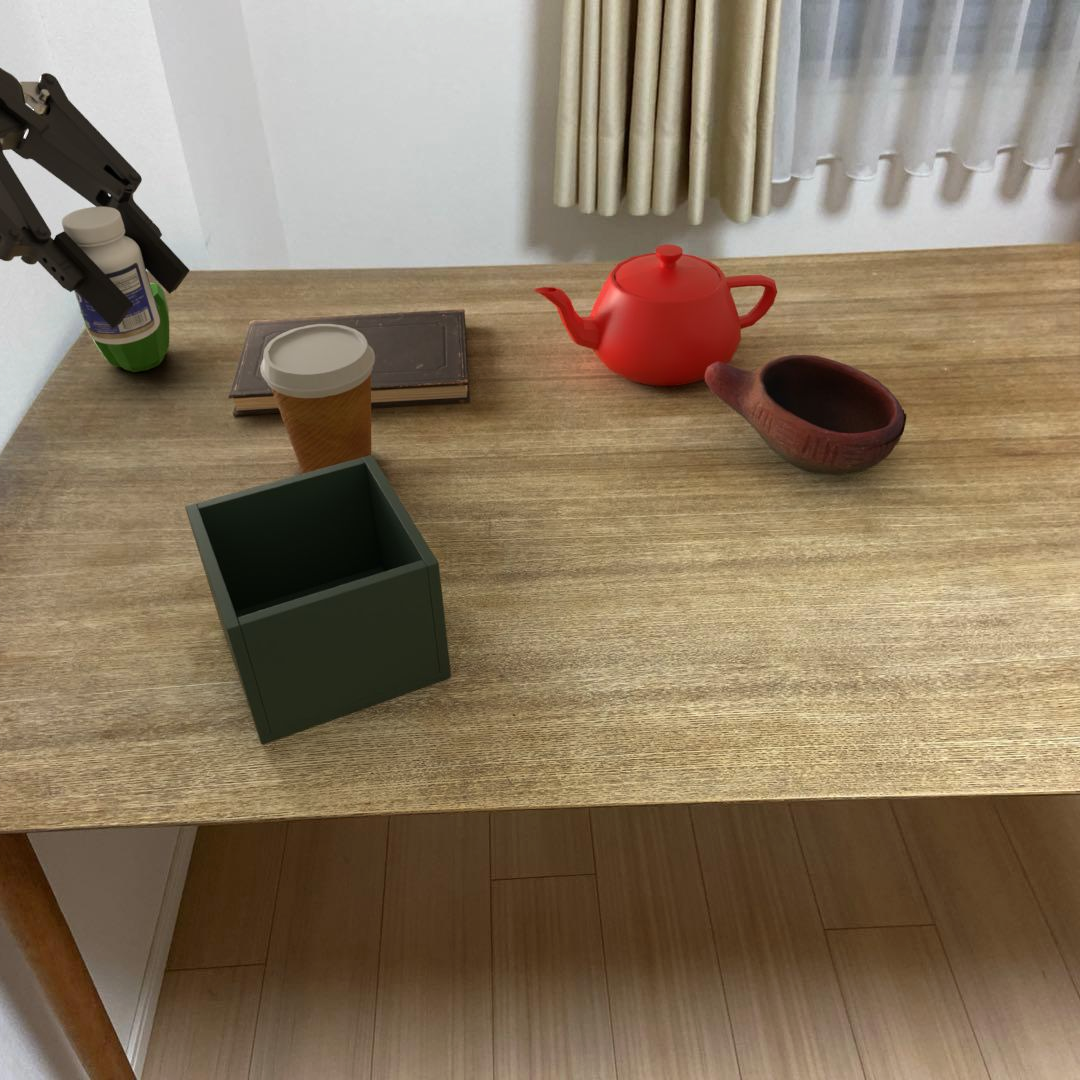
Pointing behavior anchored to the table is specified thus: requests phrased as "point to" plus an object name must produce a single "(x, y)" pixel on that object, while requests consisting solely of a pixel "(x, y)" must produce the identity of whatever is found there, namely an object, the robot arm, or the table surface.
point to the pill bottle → (114, 273)
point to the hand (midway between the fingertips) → (151, 298)
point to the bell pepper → (141, 342)
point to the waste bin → (322, 594)
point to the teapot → (663, 317)
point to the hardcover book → (400, 358)
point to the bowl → (814, 411)
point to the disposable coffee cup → (322, 392)
